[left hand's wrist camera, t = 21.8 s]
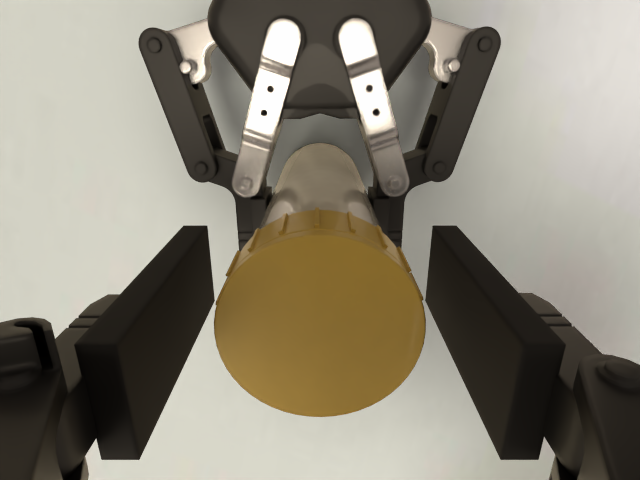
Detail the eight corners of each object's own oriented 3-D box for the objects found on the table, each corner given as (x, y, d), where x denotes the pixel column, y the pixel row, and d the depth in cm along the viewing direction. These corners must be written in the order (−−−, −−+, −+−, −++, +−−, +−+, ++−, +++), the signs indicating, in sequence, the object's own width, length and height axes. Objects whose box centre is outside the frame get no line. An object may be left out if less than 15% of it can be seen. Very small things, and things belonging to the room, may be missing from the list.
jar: (269, 158, 25) (202, 265, 11) (344, 131, 24) (379, 206, 10) (296, 229, 26) (270, 404, 12) (368, 205, 26) (427, 359, 12)
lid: (390, 182, 11) (404, 204, 9) (428, 348, 13) (446, 394, 11) (200, 234, 11) (177, 265, 10) (262, 387, 13) (252, 437, 11)
